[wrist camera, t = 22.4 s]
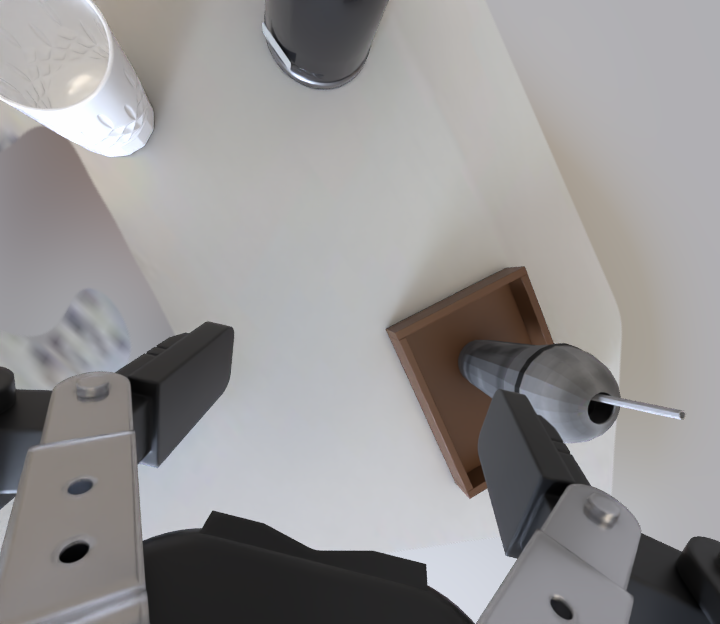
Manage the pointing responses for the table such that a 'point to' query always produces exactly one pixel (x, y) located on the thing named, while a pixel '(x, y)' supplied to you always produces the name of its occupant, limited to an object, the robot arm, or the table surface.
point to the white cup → (72, 75)
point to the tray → (441, 352)
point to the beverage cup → (553, 384)
